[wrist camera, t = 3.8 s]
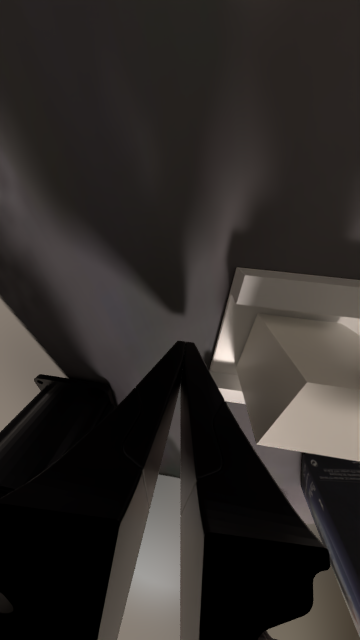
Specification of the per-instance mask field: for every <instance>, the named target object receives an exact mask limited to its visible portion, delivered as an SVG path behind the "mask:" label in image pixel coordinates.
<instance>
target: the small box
mask: <svg viewBox="0 0 360 640" xmlns="http://www.w3.org/2000/svg"><path fill="white" fill-rule="evenodd" d="M301 488H302V490H303V493H304V496H305V499H306V501H307V504H308V507H309V509H310V512H311V514H312V517H313V520H314V522H315V525H316V527H317V530H318V532H319V535H320V537H321V540H322V543H323V545H324V546H325V547H326V548H327V549H328V550H329V555H330V563H331V566H332V568H333V571H334V573H335V576H336V579H337V581H338V584H339V586H340V589H341V592H342V594H343V597H344V599H345V601H346V604H347V607H348V609H349V612H350V614H351V617H352V619H353V622H354V624H355V627H356V629H357V632H358V634H359V637H360V461H353V460H347V459H341V458H335V457H329V456H323V455H317V454H303V456H302V478H301Z"/></svg>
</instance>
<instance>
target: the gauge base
mask: <svg viewBox="0 0 360 640" xmlns="http://www.w3.org/2000/svg"><path fill="white" fill-rule="evenodd" d="M258 313H259V314H267V315H275V316H283V317H292V318H300V319H308V320H317V321H325V322H333V323H341V324H343V325H344V326H346V327H348V328H349V329H351V330H352V331H354V332H355V333H357V334H358V335H360V280H354V279H345V278H335V277H326V276H316V275H307V274H297V273H288V272H278V271H269V270H259V269H250V268H240V267H237V268H236V271H235V275H234V279H233V283H232V286H231V290H230V294H229V298H228V301H227V305H226V309H225V313H224V316H223V320H222V324H221V328H220V331H219V335H218V339H217V343H216V346H215V350H214V354H213V358H212V361H211V365H210V369H209V372H210V374H211V375H212V377H213V379H214V381H215V383H216V385H217V387H218V388H219V390H220V392H221V394H222V396H223V398H224V400H225V401H228V402H235V403H241V404H245V400H244V396H243V392H242V389H241V385H240V381H239V378H238V374H237V370H236V367H237V364H238V362H239V359H240V357H241V354H242V352H243V349H244V347H245V344H246V342H247V339H248V337H249V334H250V332H251V329H252V327H253V324H254V322H255V319H256V317H257V314H258Z"/></svg>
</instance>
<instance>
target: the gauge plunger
mask: <svg viewBox="0 0 360 640" xmlns="http://www.w3.org/2000/svg"><path fill="white" fill-rule="evenodd" d="M236 370H237V374H238V378H239V381H240V385H241V389H242V392H243V396H244V400H245V404H246V407H247V411H248V415H249V418H250V422H251V426H252V430H253V433H254V437H255V441H256V444H257V445H263V446H269V447H275V448H281V449H287V450H293V451H299V452H305V453H311V454H317V455H323V456H329V457H335V458H341V459H347V460H353V461H360V335H358V334H357V333H355V332H354V331H352V330H351V329H349V328H348V327H346V326H344V325H343V324H341V323H333V322H325V321H317V320H308V319H300V318H292V317H283V316H275V315H267V314H259V313H258V314H257V317H256V319H255V322H254V324H253V327H252V329H251V332H250V334H249V337H248V339H247V342H246V344H245V347H244V349H243V352H242V354H241V357H240V359H239V362H238V364H237V367H236Z"/></svg>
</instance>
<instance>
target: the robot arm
mask: <svg viewBox="0 0 360 640" xmlns="http://www.w3.org/2000/svg"><path fill="white" fill-rule="evenodd" d="M185 345H186V346H185ZM184 353H185V354H184ZM183 361H184V362H183ZM182 369H183V370H182ZM181 377H182V378H181ZM34 381H35V383H36V384H37V386H38V387H39V389H40V390H41V392H40V393H39V394H38V395H37V396H36V397H35V398H34V399H33V400H32V401H31V402H30V403H29V404H28V405H27V406H26V407H25V408H24V409H23V410H22V411H21V412H20V413H19V414H18V415H17V416H16V417H15V418H14V419H13V420H12V421H11V422H10V423H9V424H8V425H7V426H6V427H5V428H4V429H3V430H2V431H1V432H0V640H117V638H118V633H119V629H120V625H121V621H122V617H123V613H124V609H125V605H126V601H127V597H128V593H129V589H130V585H131V581H132V577H133V573H134V569H135V565H136V561H137V557H138V553H139V549H140V545H141V541H142V537H143V533H144V529H145V525H146V521H147V517H148V513H149V509H150V505H151V501H152V497H153V493H154V489H155V485H156V481H157V477H158V473H159V469H160V465H161V461H162V457H163V453H164V449H165V445H166V441H167V437H168V433H169V429H170V425H171V421H172V417H173V413H174V409H175V405H176V401H177V397H178V393H179V389H180V385H181V580H180V583H181V584H180V585H181V587H180V589H181V590H180V591H181V592H180V598H181V599H180V606H181V608H180V611H181V612H180V617H181V618H180V622H181V624H180V626H181V627H180V630H181V631H180V640H277V639H273V638H271V637H270V636H269V634H268V633H267V631H266V630H268V629H269V628H272V627H275V626H277V625H280V624H283V623H286V622H288V621H291V620H294V619H296V618H299V617H302V616H304V615H306V614H307V613H308V612H309V611H310V610H311V608H312V605H313V578H314V577H315V575H316V574H317V573H319V572H320V571H324V570H328V569H329V568H330V555H329V550H328V549H327V548H326V547H325V546H324V545H323V544H322V543H321V542H320V540H319V539H318V538H317V537H316V536H315V535H314V534H313V532H312V531H311V530H310V529H309V528H308V527H307V525H306V524H305V523H304V521H303V520H302V519H301V518H300V516H299V515H298V514H297V512H296V511H295V510H294V508H293V507H292V506H291V504H290V503H289V501H288V500H287V498H286V497H285V495H284V494H283V492H282V491H281V489H280V488H279V486H278V485H277V483H276V482H275V480H274V479H273V477H272V476H271V474H270V473H269V471H268V470H267V468H266V467H265V465H264V464H263V462H262V460H261V459H260V457H259V456H258V454H257V453H256V451H255V450H254V448H253V447H252V445H251V444H250V442H249V441H248V439H247V438H246V436H245V434H244V433H243V431H242V430H241V428H240V427H239V425H238V423H237V421H236V420H235V418H234V416H233V414H232V413H231V411H230V409H229V407H228V405H227V403H226V402H224V401H225V400H224V398H223V396H222V394H221V392H220V390H219V388H218V387H217V385H216V383H215V381H214V379H213V377H212V375H211V374H210V372H209V370H208V368H207V366H206V364H205V362H204V360H203V359H202V357H201V355H200V353H199V351H198V349H197V347H196V346H195V344H194V343H192V342H184V341H177V342H176V343H175V344H174V345H173V347H172V348H171V349H170V350H169V351H168V352H167V353H166V354H165V355H164V356H163V358H162V359H161V360H160V361H159V362H158V363H157V364H156V365H155V366H154V367H153V368H152V370H151V371H150V372H149V373H148V374H147V375H146V376H145V377H144V378H143V379H142V380H141V382H140V383H139V384H138V385H137V386H136V388H134V389H133V390H132V391H131V392H130V393H129V395H128V396H127V397H126V398H125V399H124V400H123V401H122V402H121V403H120V404H119V405H118V406H117V407H116V408H115V404H114V400H113V396H112V393H111V389H110V387H109V386H108V385H106V384H101V383H94V382H88V381H81V380H75V379H68V378H61V377H55V376H49V375H42V374H40V375H38V376H37V377H36V378H35V379H34Z"/></svg>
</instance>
